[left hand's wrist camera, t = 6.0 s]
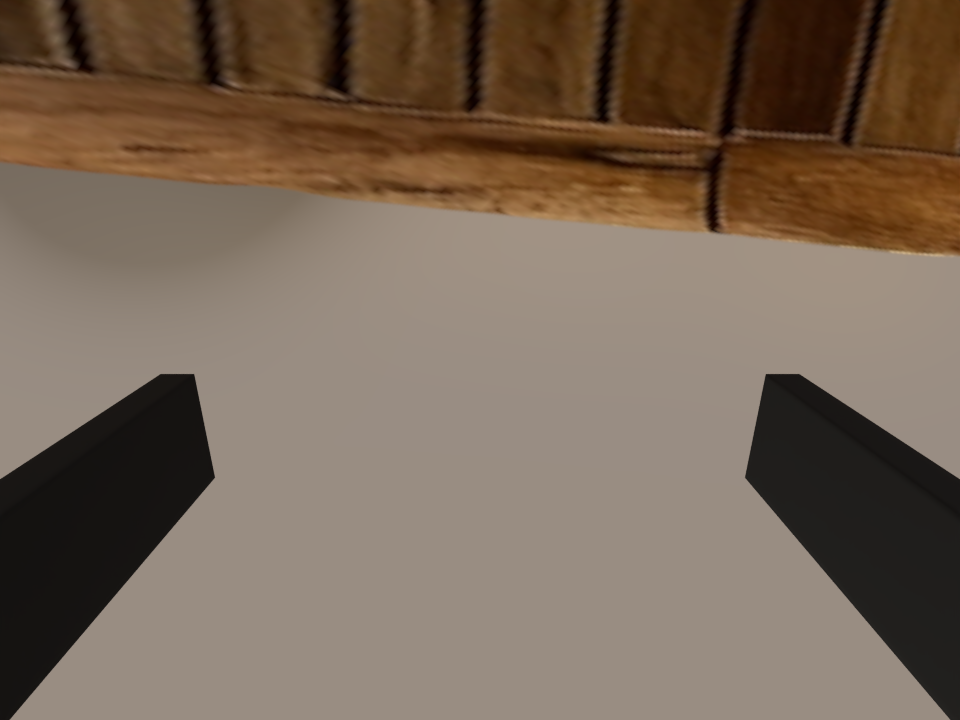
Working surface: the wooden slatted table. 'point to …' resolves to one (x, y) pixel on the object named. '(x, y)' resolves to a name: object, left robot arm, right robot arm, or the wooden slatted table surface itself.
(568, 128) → the wooden slatted table surface
